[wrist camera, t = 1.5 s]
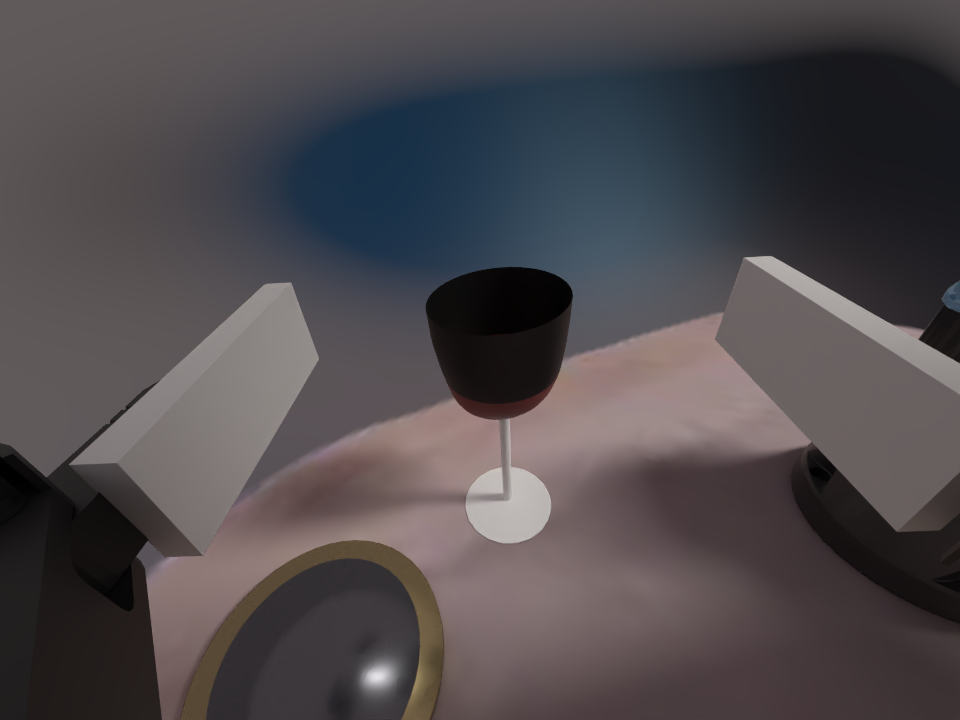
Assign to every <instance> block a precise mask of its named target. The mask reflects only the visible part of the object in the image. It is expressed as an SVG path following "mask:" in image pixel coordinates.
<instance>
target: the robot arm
mask: <svg viewBox="0 0 960 720" xmlns="http://www.w3.org/2000/svg"><path fill="white" fill-rule="evenodd" d="M942 301H943V302H944V305H943V307H942V308H941V310H940V311H939V312H938V314H937V315H936V316H935V317H934V319H933V320H932V321H931V323H930V324H929V326H928V327H927V328H926V330H925V331H924V332H923V334H922V335H921V336H920V338H919V339H916V338H914V337H912V336H911V335H909V334H907V333H905V332H904V331H902V330H900V329H898V328H897V327H895V326H893V325H891V324H890V323H888V322H886V321H884V320H883V319H881V318H879V317H877V316H876V315H874V314H872V313H870V312H868V311H867V310H865V309H863V308H862V307H860V306H858V305H856V304H854V303H853V302H851V301H849V300H848V299H846V298H844V297H842V296H841V295H839V294H837V293H835V292H834V291H832V290H830V289H828V288H827V287H825V286H823V285H821V284H820V283H818V282H816V281H814V280H812V279H811V278H809V277H807V276H805V275H804V274H802V273H800V272H798V271H797V270H795V269H793V268H791V267H790V266H788V265H786V264H784V263H783V262H781V261H779V260H777V259H776V258H774V257H772V256H765V257H748V258H744V259H743V262H742V265H741V268H740V271H739V273H738V276H737V279H736V282H735V284H734V288H733V290H732V293H731V296H730V298H729V302H728V304H727V307H726V310H725V312H724V315H723V318H722V321H721V324H720V326H719V329H718V332H717V335H716V338H715V340H716V341H717V342H718V343H719V344H720V345H721V346H722V347H723V348H724V350H725V351H726V352H727V353H728V354H729V355H730V356H731V357H732V358H733V359H734V360H735V361H736V362H737V363H738V364H739V365H740V366H741V367H742V369H743V370H744V371H745V372H746V373H747V374H748V375H749V376H750V377H751V378H752V379H753V380H754V381H755V382H756V383H757V384H758V385H759V387H760V388H761V389H762V390H763V391H764V392H765V393H766V394H767V395H768V396H769V397H770V398H771V399H772V400H773V401H774V402H775V403H776V405H777V406H778V407H779V408H780V409H781V410H782V411H783V412H784V413H785V414H786V415H787V416H788V417H789V418H790V419H791V420H792V421H793V423H794V424H795V425H796V426H797V427H798V428H799V429H800V430H801V431H802V432H803V433H804V434H805V435H806V436H807V437H808V438H809V439H810V440H811V443H810V444H809V445H808V446H807V447H806V449H805V450H804V452H803V453H802V455H801V456H800V458H799V459H798V461H797V462H796V464H795V466H794V468H793V472H792V487H793V492H794V495H795V498H796V500H797V502H798V504H799V506H800V508H801V510H802V512H803V513H804V515H805V517H806V518H807V519H808V521H809V522H810V524H811V525H812V526H813V527H814V529H815V530H816V531H817V532H818V533H819V535H820V536H821V537H822V538H823V539H824V540H825V541H826V542H827V543H828V544H829V545H830V546H831V547H832V548H833V549H834V550H835V551H836V552H837V553H839V554H840V555H841V556H842V557H843V558H844V559H846V560H847V561H848V562H849V563H850V564H852V565H853V566H854V567H856V568H857V569H858V570H860V571H861V572H862V573H864V574H865V575H866V576H868V577H869V578H871V579H872V580H874V581H875V582H877V583H878V584H880V585H881V586H883V587H885V588H886V589H888V590H890V591H891V592H893V593H895V594H897V595H898V596H900V597H902V598H904V599H906V600H908V601H910V602H912V603H914V604H916V605H918V606H920V607H922V608H924V609H926V610H929V611H931V612H933V613H936V614H938V615H940V616H943V617H946V618H949V619H951V620H954V621H957V622H960V281H959V282H957V283H955V284H954V285H953V286H951V287H950V288H949V289H948V290H947V291H946V293H945V295H944V296H943V298H942ZM318 360H319V358H318V355H317V352H316V349H315V347H314V344H313V341H312V339H311V336H310V333H309V331H308V328H307V325H306V323H305V320H304V317H303V314H302V312H301V309H300V306H299V304H298V301H297V298H296V296H295V293H294V290H293V287H292V285H291V283H277V284H265V285H264V286H263V287H262V288H261V289H259V290H258V291H257V292H256V293H255V294H254V295H253V296H252V297H251V298H250V299H249V300H247V301H246V302H245V303H244V304H243V305H242V306H241V307H240V308H239V309H238V310H237V311H236V312H234V313H233V314H232V315H231V316H230V317H229V318H228V319H227V320H226V321H225V322H223V323H222V324H221V325H220V326H219V327H218V328H217V329H216V330H215V331H214V332H213V333H211V334H210V335H209V336H208V337H207V338H206V339H205V340H204V341H203V342H202V343H201V344H200V345H198V346H197V347H196V348H195V349H194V350H193V351H192V352H191V353H190V354H189V355H188V356H186V357H185V358H184V359H183V360H182V361H181V362H180V363H179V364H178V365H177V366H176V367H174V368H173V369H172V370H171V371H170V372H169V373H168V374H167V375H166V376H165V377H164V378H163V379H161V380H160V381H158V382H157V383H155V384H153V385H151V386H150V387H148V388H146V389H145V390H143V391H142V392H141V393H140V394H139V395H138V396H137V397H136V398H135V399H134V400H132V401H131V402H130V403H129V404H128V405H127V406H126V409H125V410H121V411H120V412H119V413H118V414H117V415H116V416H114V417H113V418H112V419H111V420H110V424H106V425H105V426H103V427H102V428H101V429H100V430H99V431H98V432H97V433H96V434H95V435H93V436H92V437H91V438H90V439H89V440H88V441H87V442H86V443H85V444H83V445H82V447H80V448H79V449H78V450H77V451H76V452H75V453H74V454H72V455H71V456H70V457H69V458H68V459H67V460H66V461H65V462H64V463H62V464H61V465H60V466H59V467H58V468H57V469H56V470H55V471H54V472H52V473H51V474H50V475H49V476H48V477H47V478H46V477H45V476H44V475H43V474H42V473H41V472H39V471H38V470H37V469H36V468H35V467H34V466H33V465H31V464H30V463H29V462H28V461H27V460H26V459H25V458H24V457H22V456H21V455H20V454H19V453H18V452H17V451H16V450H15V449H13V448H12V447H11V446H9V445H5V444H1V443H0V720H162V717H161V708H160V700H159V691H158V682H157V673H156V664H155V655H154V646H153V637H152V628H151V619H150V610H149V601H148V592H147V583H146V574H145V568H144V566H143V564H142V562H141V561H140V560H139V559H138V558H137V557H136V556H137V554H138V553H139V552H140V550H141V549H142V548H143V546H144V545H145V543H146V542H147V541H149V542H150V543H151V544H152V545H153V546H154V547H155V548H156V549H157V550H158V551H159V552H160V553H161V554H162V555H163V556H164V557H180V556H203V555H204V553H205V552H206V550H207V548H208V547H209V545H210V543H211V542H212V540H213V538H214V536H215V535H216V533H217V531H218V530H219V528H220V526H221V525H222V523H223V521H224V519H225V518H226V516H227V514H228V513H229V511H230V509H231V508H232V506H233V504H234V502H235V501H236V499H237V497H238V496H239V494H240V492H241V490H242V489H243V487H244V485H245V484H246V482H247V480H248V479H249V477H250V475H251V473H252V472H253V470H254V468H255V466H256V465H257V463H258V461H259V460H260V458H261V457H262V455H263V453H264V451H265V450H266V448H267V446H268V445H269V443H270V441H271V440H272V438H273V436H274V434H275V433H276V431H277V429H278V428H279V426H280V424H281V422H282V421H283V419H284V417H285V416H286V414H287V412H288V410H289V409H290V407H291V406H292V403H293V402H294V400H295V399H296V397H297V395H298V394H299V392H300V390H301V389H302V387H303V385H304V383H305V382H306V380H307V378H308V377H309V375H310V373H311V372H312V370H313V368H314V366H315V365H316V363H317V361H318Z"/></svg>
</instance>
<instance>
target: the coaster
mask: <svg viewBox="0 0 960 720" xmlns="http://www.w3.org/2000/svg"><path fill="white" fill-rule="evenodd" d="M443 659H444V639H443V627H442V622H441V617H440V612H439V608H438V605H437V602H436V599H435V596H434V593H433V591H432V589H431V587H430V585H429V583H428V581H427V580H426V578H425V577H424V575H423V574H422V572H421V571H420V570H419V568H418V567H417V566H416V565H415V564H414V563H413V562H412V561H411V560H410V559H408V558H407V557H406V556H405V555H403V554H402V553H400V552H398V551H397V550H395V549H393V548H391V547H388V546H386V545H383V544H380V543H375V542H370V541H358V540H354V541H342V542H337V543H332V544H328V545H325V546H321V547H318V548H315V549H313V550H311V551H308V552H306V553H304V554H302V555H300V556H298V557H296V558H294V559H293V560H291V561H289V562H287V563H286V564H284V565H283V566H281V567H280V568H278V569H277V570H276V571H274V572H273V573H272V574H270V575H269V576H268V577H267V578H265V579H264V580H263V581H262V582H261V583H260V584H259V585H257V586H256V587H255V588H254V589H253V590H252V591H251V592H250V593H249V594H248V595H247V596H246V597H245V598H244V599H243V601H242V602H241V603H240V604H239V605H238V606H237V607H236V608H235V610H234V611H233V612H232V613H231V615H230V616H229V617H228V619H227V620H226V621H225V622H224V624H223V625H222V627H221V628H220V630H219V631H218V633H217V634H216V636H215V637H214V639H213V640H212V642H211V644H210V646H209V647H208V649H207V651H206V653H205V655H204V656H203V658H202V660H201V662H200V664H199V667H198V669H197V671H196V673H195V675H194V678H193V680H192V683H191V686H190V689H189V691H188V694H187V697H186V700H185V704H184V707H183V711H182V715H181V719H180V720H431V718H432V715H433V712H434V709H435V706H436V702H437V698H438V694H439V689H440V685H441V678H442V671H443Z"/></svg>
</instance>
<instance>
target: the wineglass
mask: <svg viewBox="0 0 960 720" xmlns="http://www.w3.org/2000/svg"><path fill="white" fill-rule="evenodd" d="M572 299H573V294H572V290H571V288H570V286H569V285H568V284H567V282H566V281H564V280H563V279H562V278H560V277H558V276H556V275H554V274H552V273H549V272H546V271H542V270H538V269H532V268H522V267H504V268H503V267H502V268H492V269H486V270H481V271H476V272H472V273H468V274H465V275H462V276H459V277H457V278H454V279H452V280H450V281H448V282H446V283H445V284H443V285H441V286H440V287H439V288H437V289H436V290H435V291H434V292H433V293H432V294H431V295H430V297H429V298H428V300H427V303H426V313H427V319H428V324H429V329H430V334H431V339H432V343H433V347H434V350H435V353H436V356H437V359H438V361H439V365H440V367H441V370H442V372H443V375H444V377H445V379H446V382H447V384H448V386H449V388H450V390H451V393H452V395H453V396H454V398H455V400H456V401H457V402H458V404H459V405H460V406H462V407H463V408H464V409H465V410H466V411H467V412H469V413H471V414H472V415H475V416H478V417H481V418H485V419H492V420H499V425H500V443H501V462H502V467H500V468H497V469H493V470H490V471H488V472H486V473H484V474H483V475H481V476H479V477H478V478H477V479H476V481H475V482H474V483H473V484H472V485H471V486H470V489H469V491H468V494H467V496H466V507H465V509H466V512H467V516H468V519H469V521H470V523H471V524H472V525H473V527H474V528H475V529H476V531H477V532H479V533H480V534H482V535H483V536H484V537H486V538H487V539H490V540H493V541H496V542H499V543H519V542H522V541H525V540H528V539H531V538H532V537H533V536H535V535H536V534H537V533H539V532H540V531H541V530H542V529H543V527H544V526H545V524H546V523H547V521H548V520H549V516H550V512H551V500H550V495H549V493H548V491H547V489H546V487H545V485H544V484H543V483H542V482H541V481H540V480H539V479H538V478H537V477H536V476H535V475H533V474H531V473H529V472H528V471H526V470H523V469H519V468H514V467H511V449H510V418H513V417H516V416H519V415H522V414H524V413H526V412H528V411H530V410H532V409H533V408H535V407H536V406H537V405H538V404H539V403H540V402H541V401H542V400H543V399H544V398H545V397H546V396H547V395H548V393H549V392H550V390H551V389H552V387H553V385H554V383H555V381H556V379H557V376H558V374H559V371H560V368H561V364H562V360H563V356H564V351H565V346H566V342H567V336H568V329H569V323H570V315H571V307H572Z"/></svg>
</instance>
